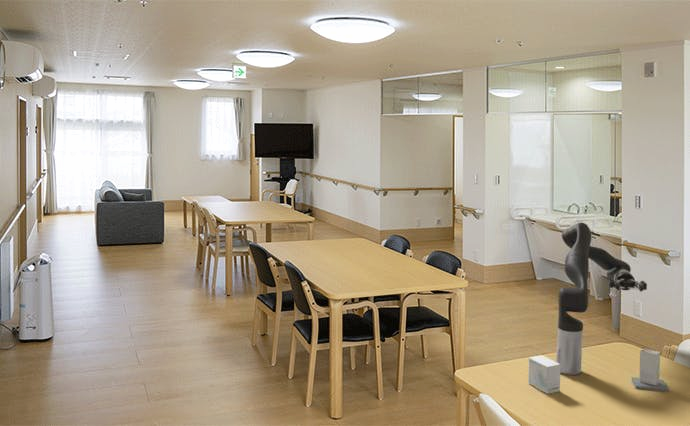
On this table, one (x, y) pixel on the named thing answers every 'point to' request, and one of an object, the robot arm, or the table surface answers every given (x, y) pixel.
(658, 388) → the mat
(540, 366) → the skincare box
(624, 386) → the table surface
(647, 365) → the skincare box
